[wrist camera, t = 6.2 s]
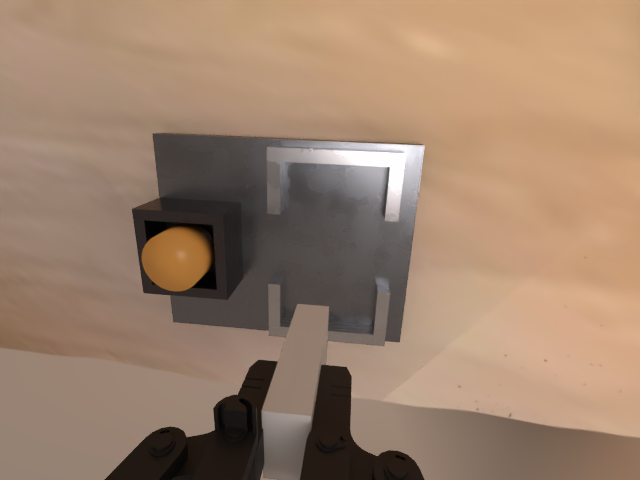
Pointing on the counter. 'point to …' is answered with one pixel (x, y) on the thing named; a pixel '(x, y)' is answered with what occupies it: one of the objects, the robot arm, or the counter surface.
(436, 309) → the counter surface
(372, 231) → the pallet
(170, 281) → the button
